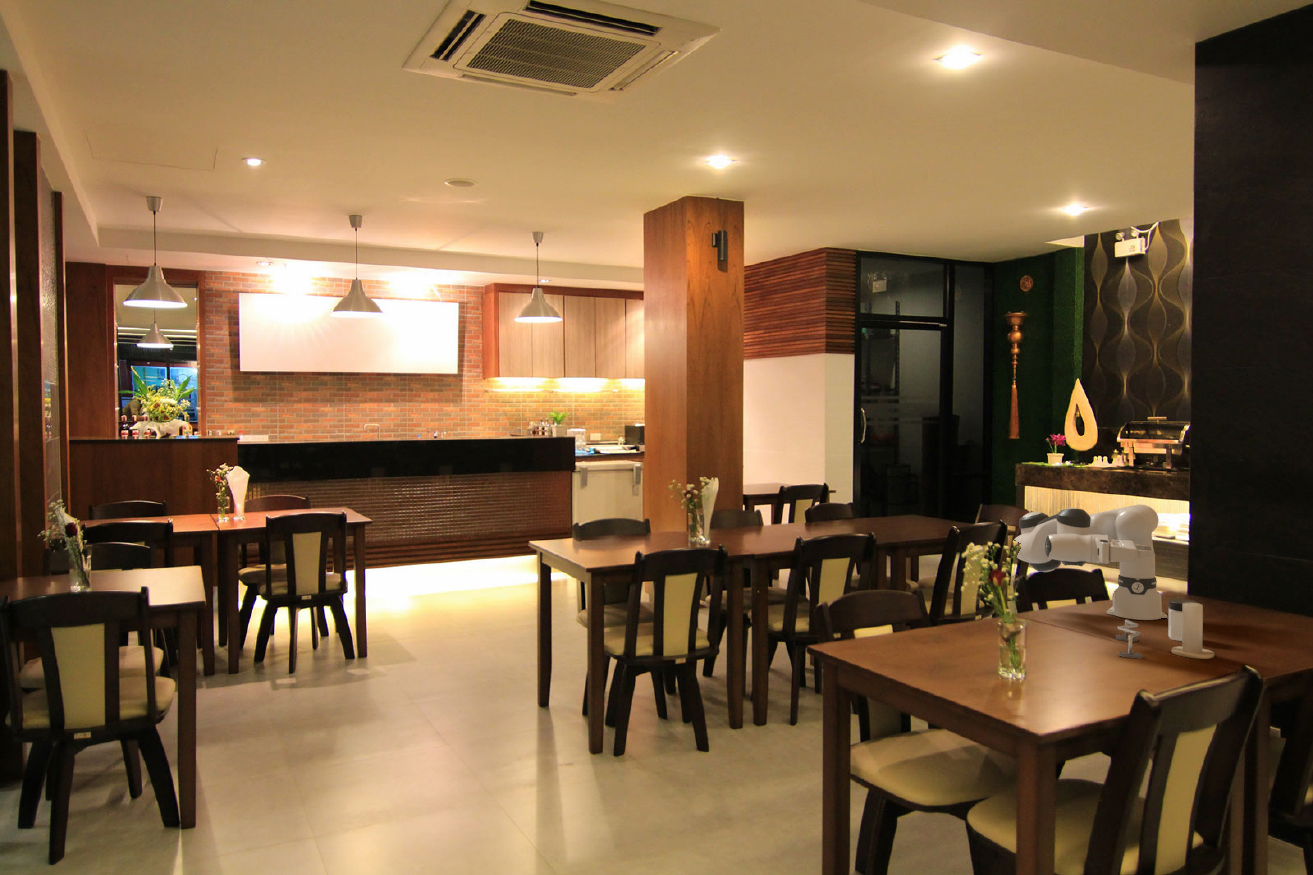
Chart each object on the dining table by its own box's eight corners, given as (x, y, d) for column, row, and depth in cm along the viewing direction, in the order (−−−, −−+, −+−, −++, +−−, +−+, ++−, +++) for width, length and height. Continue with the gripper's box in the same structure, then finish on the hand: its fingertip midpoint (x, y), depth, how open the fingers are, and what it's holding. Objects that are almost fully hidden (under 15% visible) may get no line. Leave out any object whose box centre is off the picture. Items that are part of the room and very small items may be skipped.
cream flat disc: (1170, 647, 276) (1170, 644, 276) (1212, 651, 271) (1212, 648, 271) (1172, 656, 266) (1172, 653, 266) (1216, 660, 261) (1216, 657, 261)
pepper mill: (1181, 648, 272) (1181, 602, 272) (1201, 650, 270) (1201, 603, 269) (1182, 652, 267) (1183, 605, 267) (1203, 654, 265) (1203, 606, 265)
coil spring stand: (1115, 637, 289) (1115, 617, 289) (1136, 639, 286) (1137, 619, 286) (1119, 657, 266) (1119, 635, 266) (1142, 659, 264) (1142, 637, 263)
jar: (1179, 642, 282) (1179, 604, 281) (1161, 636, 290) (1161, 599, 289) (1205, 641, 283) (1206, 603, 282) (1187, 635, 291) (1187, 598, 291)
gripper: (1100, 554, 290) (1149, 556, 285) (1103, 564, 272) (1155, 567, 266) (1100, 534, 290) (1149, 536, 284) (1103, 543, 272) (1155, 545, 266)
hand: (1152, 551), depth 275 cm, fingers open, 8 cm apart
